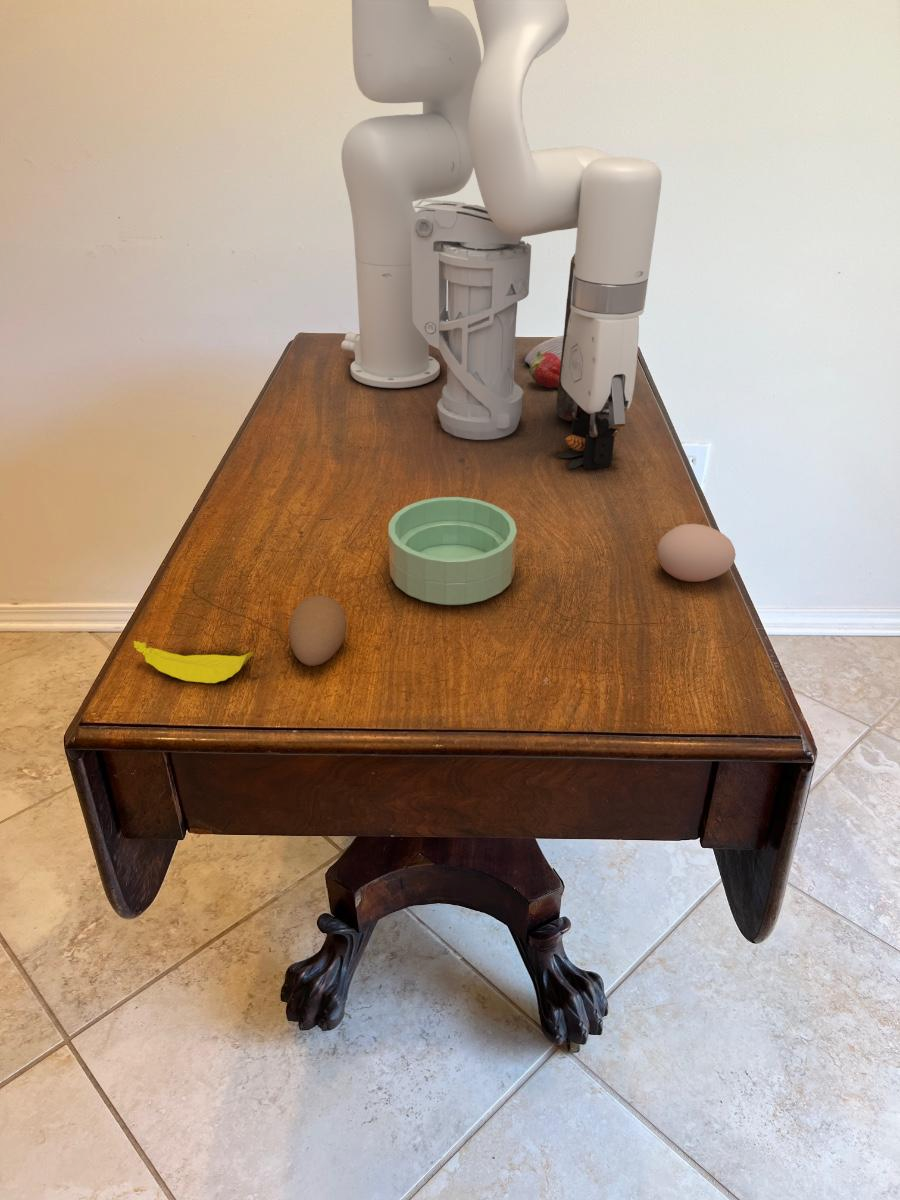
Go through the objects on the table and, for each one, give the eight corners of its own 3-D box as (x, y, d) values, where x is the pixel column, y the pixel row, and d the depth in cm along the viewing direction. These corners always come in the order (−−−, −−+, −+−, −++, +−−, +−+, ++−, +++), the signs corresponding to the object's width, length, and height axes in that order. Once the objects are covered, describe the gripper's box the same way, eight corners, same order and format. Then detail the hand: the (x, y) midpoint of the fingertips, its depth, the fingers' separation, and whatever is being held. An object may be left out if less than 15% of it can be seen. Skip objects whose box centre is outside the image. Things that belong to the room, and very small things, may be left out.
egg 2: (662, 549, 71) (744, 554, 70) (660, 509, 75) (738, 514, 74) (653, 590, 75) (731, 596, 74) (651, 551, 78) (726, 556, 78)
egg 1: (311, 616, 69) (295, 679, 66) (288, 585, 66) (269, 649, 63) (360, 613, 68) (346, 677, 65) (339, 580, 65) (323, 646, 61)
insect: (611, 410, 95) (604, 450, 98) (561, 414, 94) (556, 454, 97) (625, 423, 92) (619, 464, 95) (574, 428, 91) (569, 469, 94)
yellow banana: (145, 650, 67) (127, 678, 64) (140, 630, 65) (121, 658, 63) (262, 659, 66) (249, 688, 63) (259, 639, 65) (246, 667, 62)
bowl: (365, 584, 75) (362, 535, 72) (435, 531, 82) (435, 485, 79) (471, 625, 70) (472, 575, 67) (535, 565, 77) (539, 518, 74)
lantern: (525, 411, 107) (538, 198, 93) (516, 444, 99) (528, 216, 85) (426, 403, 109) (424, 194, 95) (409, 436, 101) (404, 211, 86)
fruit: (571, 392, 113) (574, 356, 110) (527, 390, 113) (529, 354, 110) (571, 381, 116) (574, 346, 113) (528, 379, 117) (530, 344, 114)
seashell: (602, 356, 115) (532, 337, 115) (589, 392, 119) (521, 374, 119) (602, 332, 124) (536, 314, 123) (590, 366, 127) (526, 349, 127)
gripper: (548, 276, 91) (536, 432, 102) (603, 320, 78) (584, 495, 89) (612, 272, 93) (594, 427, 103) (677, 316, 79) (649, 488, 90)
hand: (590, 457), depth 96 cm, fingers closed on insect, 3 cm apart
